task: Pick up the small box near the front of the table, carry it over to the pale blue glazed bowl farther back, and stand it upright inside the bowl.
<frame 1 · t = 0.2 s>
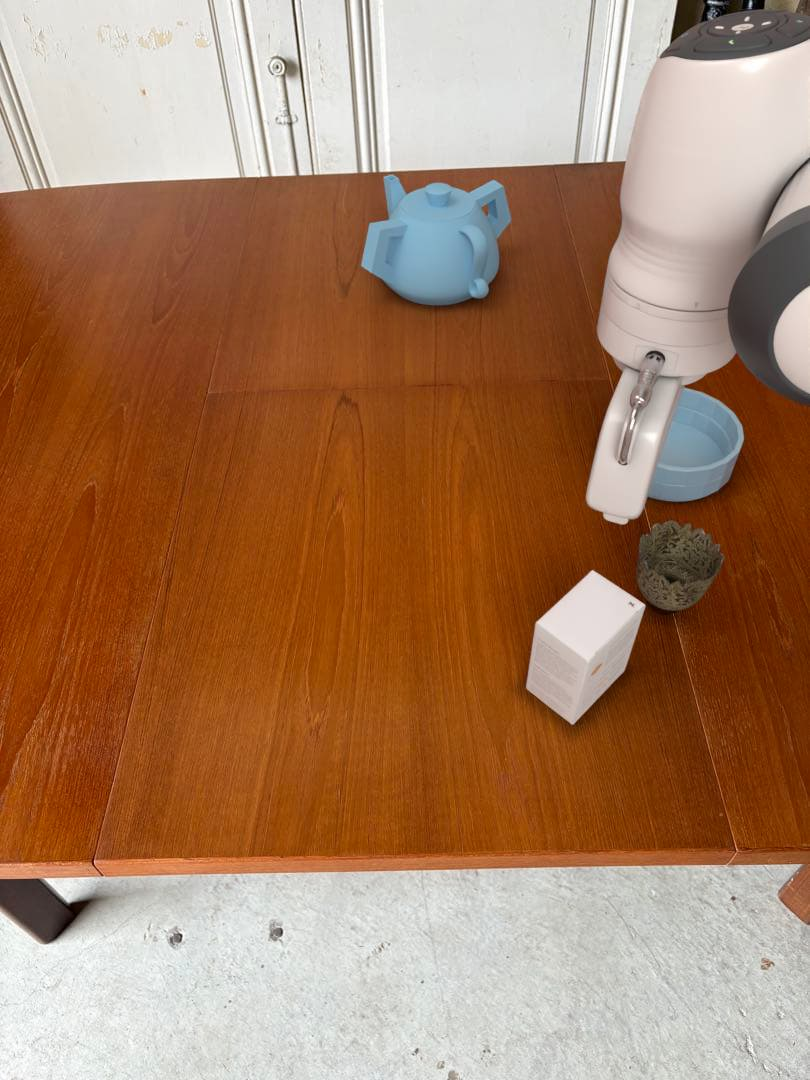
hand: (631, 473, 61), 22 cm above the table, tool pointing down, fingers open, 8 cm apart
cup: (662, 604, 80), on the table
small box: (574, 681, 75), on the table
apple: (734, 225, 130), on the table
teapot: (435, 277, 122), on the table
bowl: (666, 459, 94), on the table
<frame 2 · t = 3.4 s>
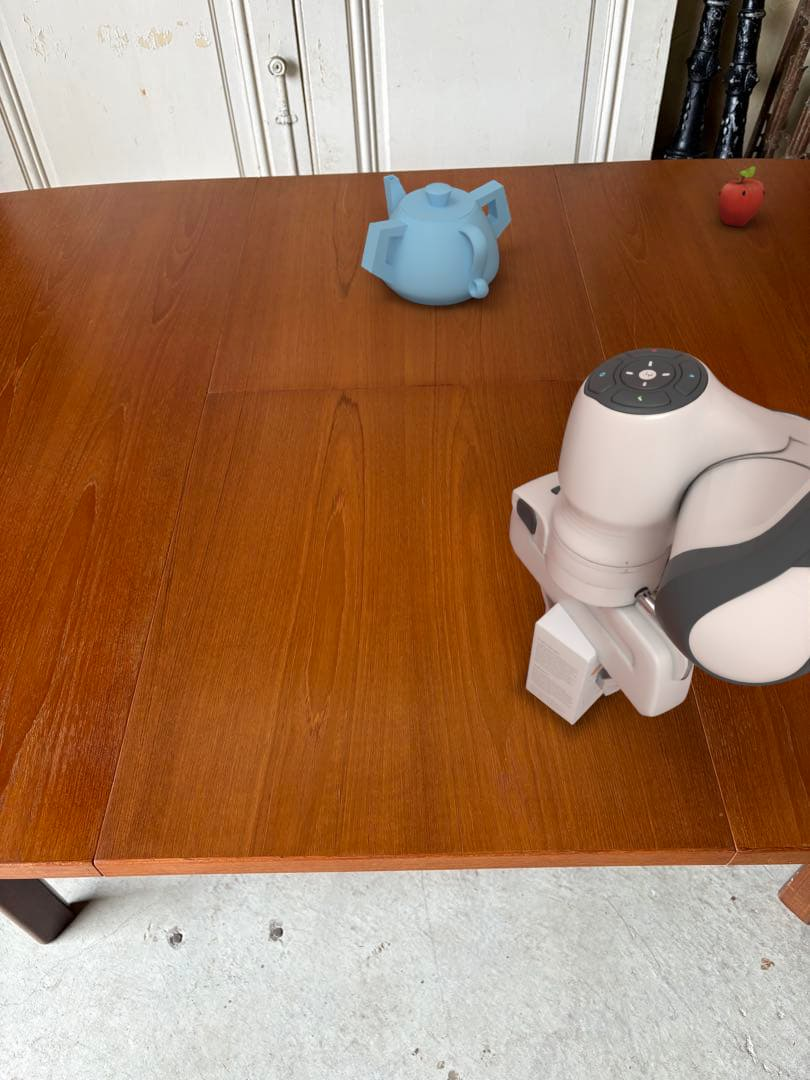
hand: (581, 651, 71), 5 cm above the table, tool pointing down, fingers closed on small box, 6 cm apart
small box: (574, 681, 75), on the table, touching gripper
everything else where it was.
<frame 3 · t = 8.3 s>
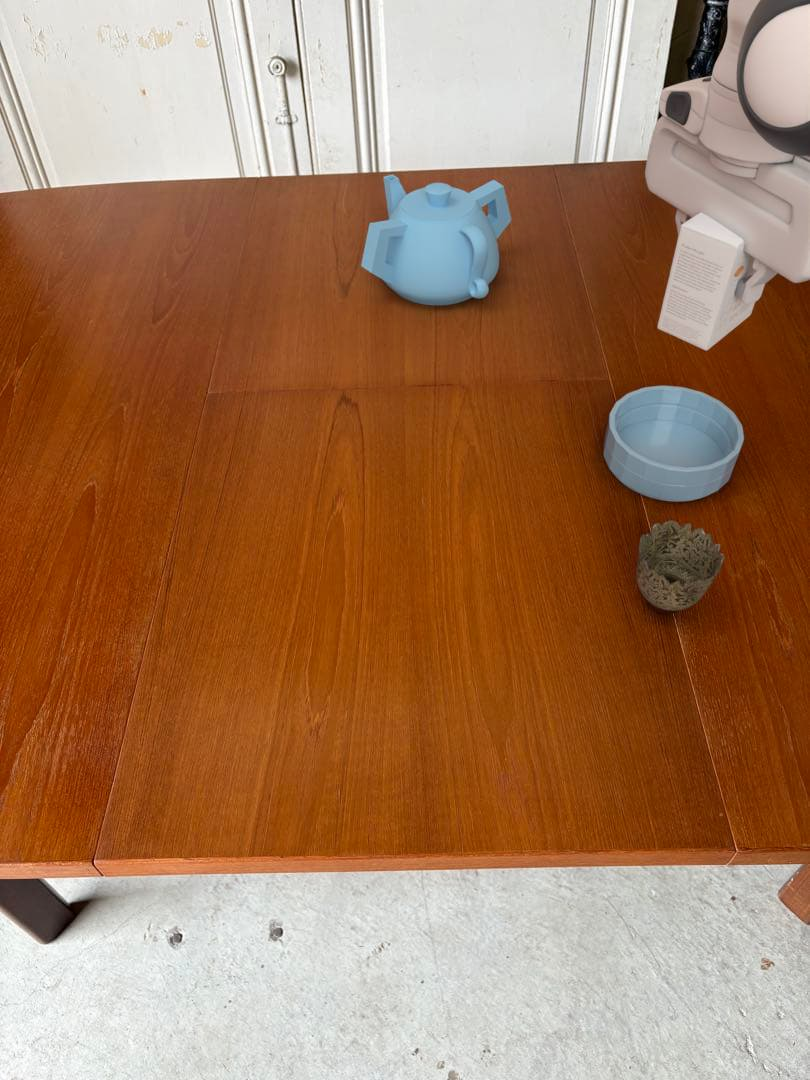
hand: (715, 278, 74), 24 cm above the table, tool pointing down, fingers closed on small box, 6 cm apart
small box: (702, 324, 77), point 20 cm above the table, touching gripper
everything else where it was.
when the fingers open (5 cm above the table, at t = 13.2 s): small box stays where it is, resting on bowl.
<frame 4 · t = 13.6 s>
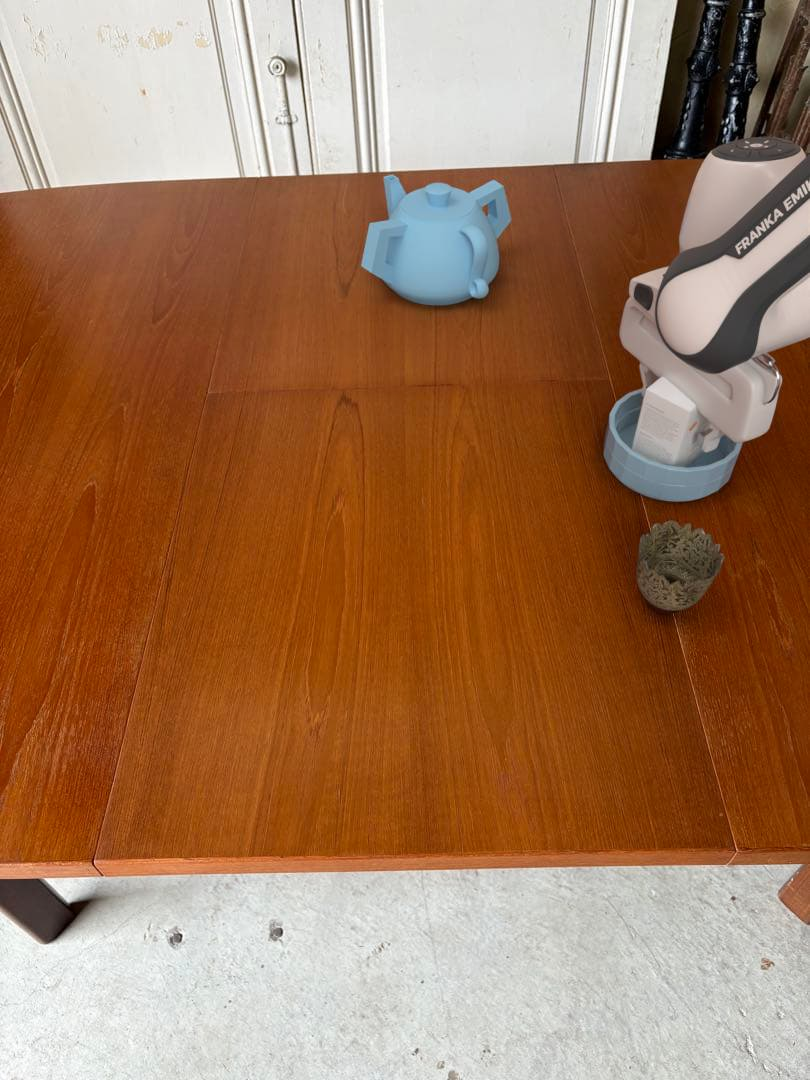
hand: (677, 421, 90), 6 cm above the table, tool pointing down, fingers open, 8 cm apart
small box: (667, 457, 93), resting on bowl
everything else where it was.
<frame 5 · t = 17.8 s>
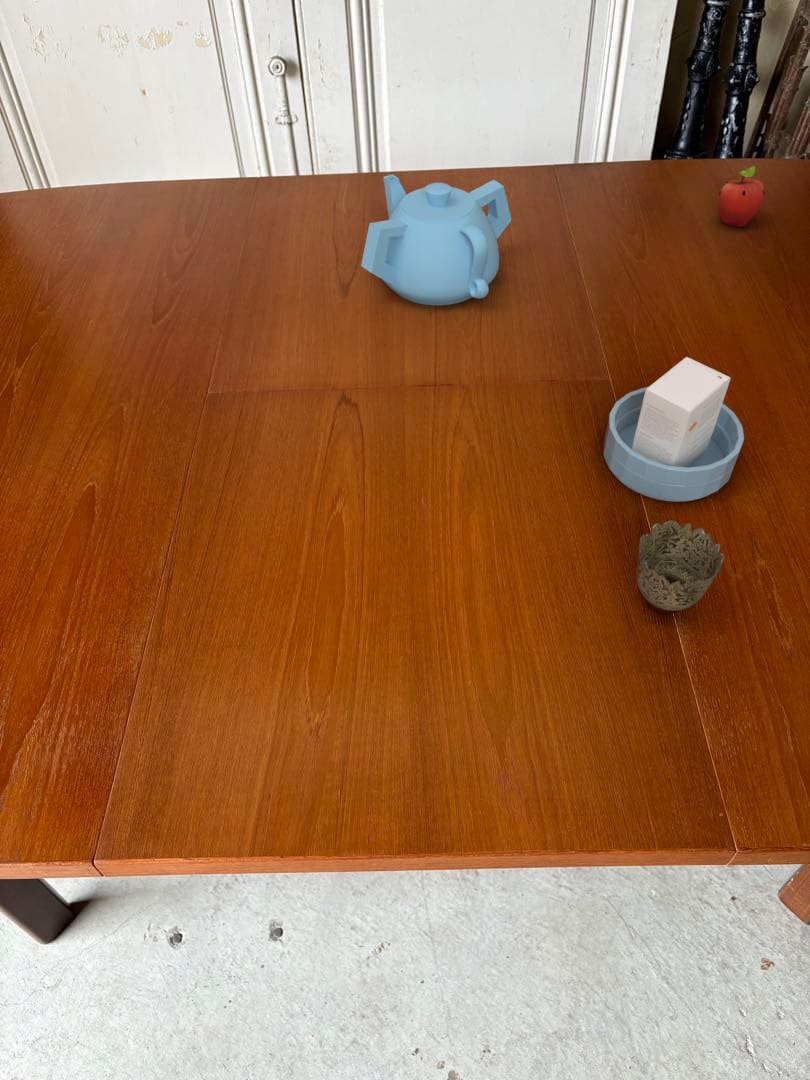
nothing on the table moved.
at the end: small box inside the target area in the bowl (0.1 cm from its centre), point 0.4 cm above the bowl's base; small box tilted 0°; the gripper is holding nothing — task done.
